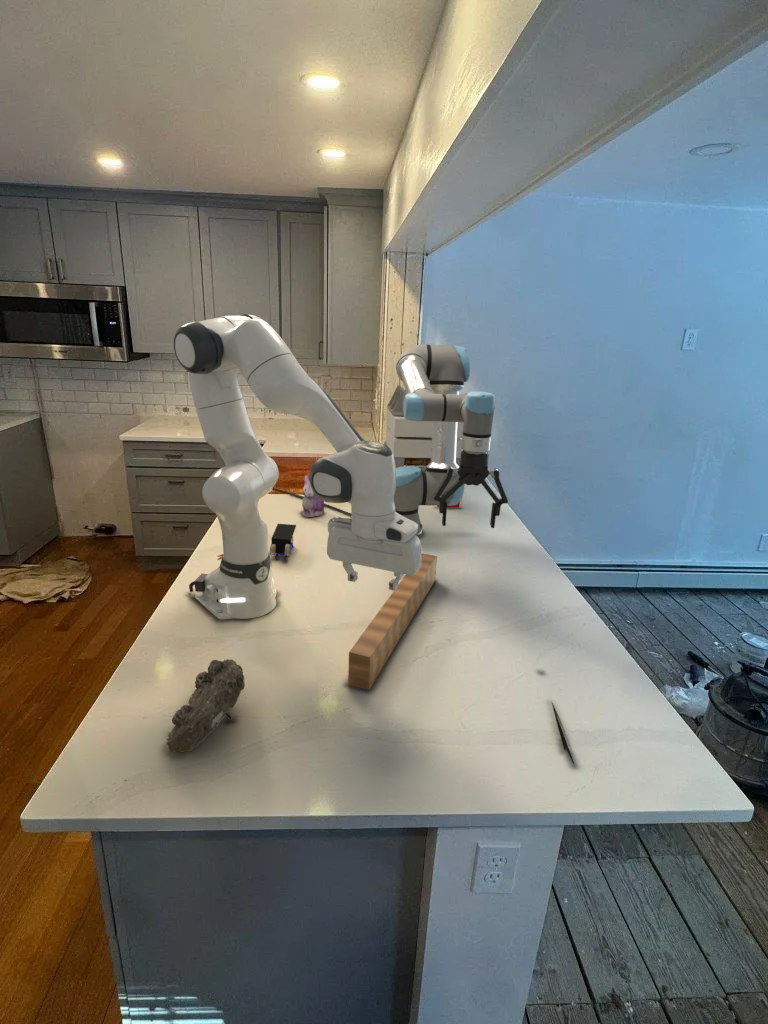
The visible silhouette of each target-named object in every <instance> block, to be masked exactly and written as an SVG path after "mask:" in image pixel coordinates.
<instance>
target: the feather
mask: <svg viewBox="0 0 768 1024" xmlns="http://www.w3.org/2000/svg"><path fill="white" fill-rule="evenodd" d="M540 673H542V670H540ZM551 705H552V709H553V713H554V716H555V721H556V725H557V728H558V732H559V737H560V740H561V742H562V745H563V750H564V751H566V752H567V754H568V755H569V757H570V760H571V762H572V764H573V765H574V764H575V762H574V760H573V759H574V758H573V757H572V754H573V755H574V752H572V753H571V751H570V748H571V750H573V748H574V747H572V746H571V747H570V748H569V745H568V743H570V740H569V738H568V734H567V731H566V730H565V727H564V725H563V723H562V721H561V718H560V716H559V714H558V712H557V710H556V707H555V704H554V703H553V702H551ZM565 736H566V737H565ZM567 742H568V743H567Z"/></svg>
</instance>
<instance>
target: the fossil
mask: <svg viewBox="0 0 768 1024" xmlns="http://www.w3.org/2000/svg"><path fill="white" fill-rule="evenodd" d="M243 670H244V669H243V667H242V665H240V664H237V662H236V661H235V660H234V659H232V658H231V659H227V658H226V659H224V660H223V661H222V660H217V659H212V660H211V661H210V663H209V665H208V666H207V671H201V672H199V673H198V674H197V675H196V676H195V680H194V684H195V685H194V687H195V689H194V690H193V693H192V694H191V697H190V698H189V700H188V704H184V705H182V706H181V707H180V709H177V710H176V711H175V713H174V715H173V716H172V718H171V723H172V724H173V727H172V730H171V731H170V732H168V734H167V738H166V741H167V742H166V745H167V749H168V750H169V751H173V752H174V753H176V754H178V753H182V752H188V751H189V752H192V751H193V750H195V748H196V747H197V746H199V744H200V743H201V742H203V741H204V740H205V739H206V738H207V737H208V736H209V735H210V734H211V733H212V732H214V730H215V729H217V727H218V726H219V724H220V722H221V721H222V720H223V719H224V718H225V716H226V717H227V719H229V720H233V717H232V715H230V714H229V710H230V709H231V708H234V706H235V704H236V703H237V702H238V699H239V697H240V695H241V693H242V691H243V690H245V689H244V688H245V675H244V671H243Z"/></svg>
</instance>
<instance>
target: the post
mask: <svg viewBox="0 0 768 1024" xmlns="http://www.w3.org/2000/svg"><path fill="white" fill-rule="evenodd" d="M421 554H422V563H421V568H420V569H419V570H418V571H417V572H416V573H415V574H414V575H406V574H404V577H402V579H401V580H400V581H399V586H398V589H397V590H396V591H394V590H393V591H392V593H391V594H390V596H389V597H388V598H387V600H386V601H385V602H384V603H383V605H382V607H381V608H380V609H379V610H378V612H377V613H376V615H375V616H374V618H373V619H372V620H371V621H370V623H369V624H368V626H367V627H366V628H365V630H364V631H363V633H362V634H361V635H360V637H359V638H358V639H357V641H356V642H355V643H354V645H353V646H352V647H351V649H350V650H349V651H348V675H347V676H348V680H347V681H348V682H347V684H348V686H353V687H357V688H360V689H364V690H367V691H369V690H370V689H371V688H372V686H373V684H374V682H375V680H376V679H377V677H378V675H379V674H380V673H381V671H382V670H383V667H384V666H385V664H386V662H387V661H388V659H389V657H390V656H391V654H392V652H393V651H394V649H395V648H396V647H397V645H398V643H399V641H400V639H401V637H402V636H403V635H404V632H405V631H406V629H407V628H408V626H409V625H410V623H411V621H412V619H413V618H414V616H415V615H416V613H417V611H418V610H419V608H420V606H421V605H422V603H423V601H424V600H425V598H426V596H427V595H428V593H429V591H430V590H431V588H432V586H433V585H434V583H435V582H436V574H437V573H436V572H437V560H438V556H437V555H433V554H428V553H423V552H421Z"/></svg>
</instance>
